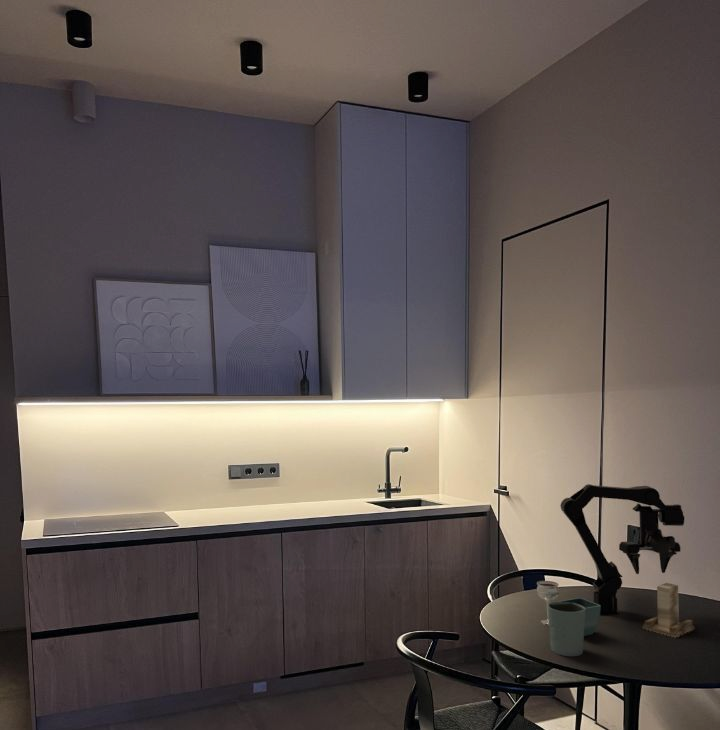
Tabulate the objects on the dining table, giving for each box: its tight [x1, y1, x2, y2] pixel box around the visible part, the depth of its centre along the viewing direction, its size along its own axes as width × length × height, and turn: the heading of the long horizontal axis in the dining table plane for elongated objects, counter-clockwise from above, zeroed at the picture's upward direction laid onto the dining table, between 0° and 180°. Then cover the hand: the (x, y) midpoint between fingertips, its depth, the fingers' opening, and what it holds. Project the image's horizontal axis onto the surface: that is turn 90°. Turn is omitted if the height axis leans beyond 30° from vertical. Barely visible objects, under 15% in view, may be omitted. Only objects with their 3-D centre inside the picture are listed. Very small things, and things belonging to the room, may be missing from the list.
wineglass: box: [536, 580, 560, 626], centre depth 208 cm, size 7×7×12 cm
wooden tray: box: [642, 615, 696, 639], centre depth 201 cm, size 12×10×2 cm
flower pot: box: [558, 597, 601, 637], centre depth 198 cm, size 9×9×9 cm
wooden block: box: [656, 582, 680, 629], centre depth 202 cm, size 6×4×12 cm, turn 129°
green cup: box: [546, 601, 586, 657], centre depth 185 cm, size 10×10×12 cm
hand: (650, 573), depth 217 cm, fingers open, 9 cm apart
